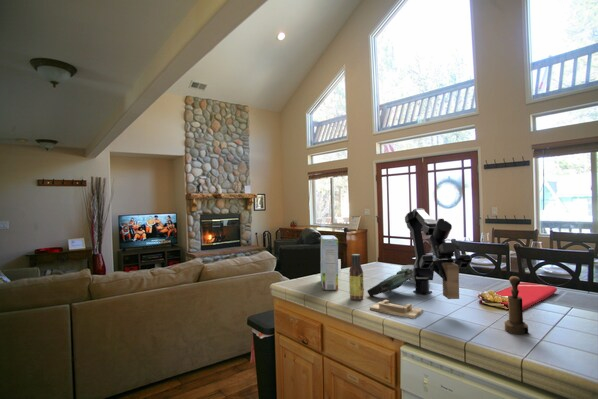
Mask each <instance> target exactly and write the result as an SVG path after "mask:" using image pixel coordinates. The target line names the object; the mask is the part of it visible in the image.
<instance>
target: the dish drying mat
mask: <svg viewBox="0 0 598 399" xmlns="http://www.w3.org/2000/svg"><path fill="white" fill-rule="evenodd" d="M517 288H518V290H519V293H518V296H519V297H522V309H523V311H524V310H526V309H528V308H530V307H532V306H534V305H536V304H538V303H540V302H541V300H542V301H543V300H545V299H547V298H549V297H550V296H552V295H553V294H555V293H556V292H557V291H558V288H557V287H555V286H552V285H545V284H540V283H533V282H520V283H519V285H518V287H517ZM511 289H512V285H511V286H509V287H506V288H503V289H501V290H498V291H495V293H496V294H498V295H501V296H512V293H511ZM478 301H479V302H478V303H479V304H480V303H482V299H480V300H478ZM539 301H540V302H539ZM537 302H538V303H537ZM500 303H501V304H504V306H506V307H507V308H508V302H500ZM535 303H536V304H535ZM533 304H534V305H533ZM531 305H532V306H531Z"/></svg>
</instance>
